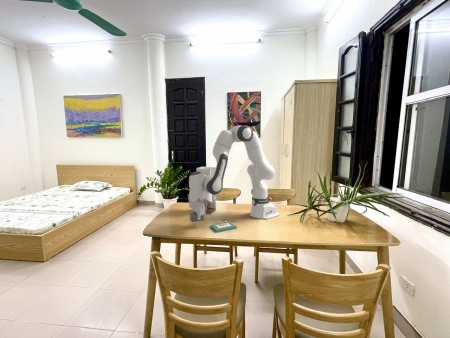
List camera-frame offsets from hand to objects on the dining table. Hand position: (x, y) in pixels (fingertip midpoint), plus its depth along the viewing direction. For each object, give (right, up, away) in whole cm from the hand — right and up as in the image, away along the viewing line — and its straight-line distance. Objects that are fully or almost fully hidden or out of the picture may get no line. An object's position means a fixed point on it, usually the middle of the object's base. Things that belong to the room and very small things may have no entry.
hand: (197, 218), depth 147 cm
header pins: (+17, -5, -1) cm, 18 cm away
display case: (+4, -2, +32) cm, 32 cm away
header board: (+17, -6, -1) cm, 18 cm away
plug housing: (0, -2, 0) cm, 2 cm away
